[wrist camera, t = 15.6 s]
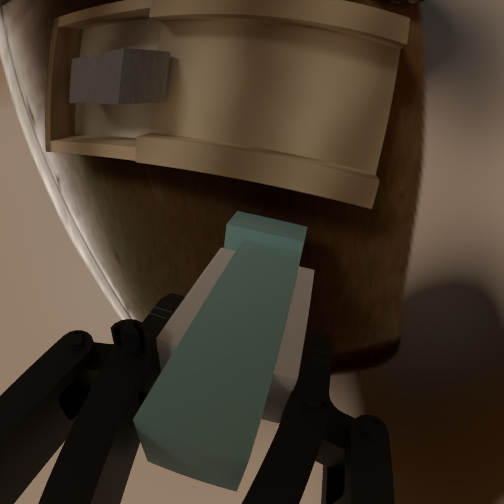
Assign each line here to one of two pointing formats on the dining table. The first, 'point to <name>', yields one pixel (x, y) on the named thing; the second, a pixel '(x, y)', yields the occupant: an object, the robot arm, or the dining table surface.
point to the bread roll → (405, 1)
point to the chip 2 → (131, 76)
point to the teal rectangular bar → (225, 358)
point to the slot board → (240, 90)
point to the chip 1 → (83, 79)
